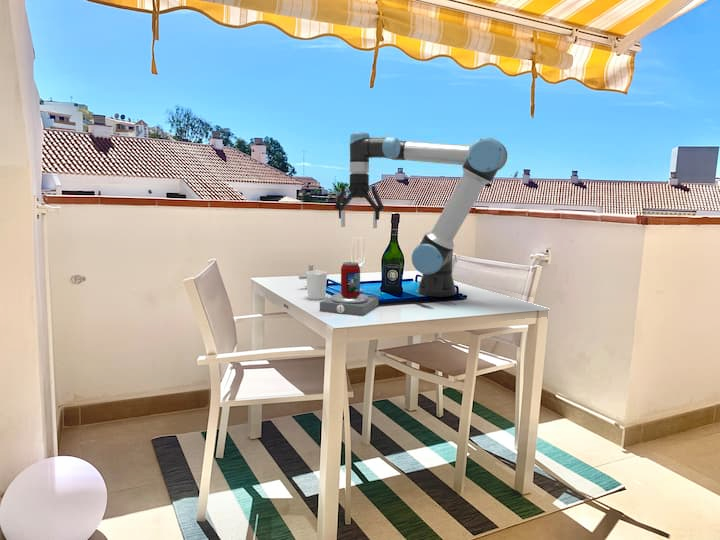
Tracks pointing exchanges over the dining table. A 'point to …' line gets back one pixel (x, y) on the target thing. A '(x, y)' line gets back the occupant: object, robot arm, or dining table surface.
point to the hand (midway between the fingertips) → (358, 227)
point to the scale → (349, 306)
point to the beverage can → (350, 280)
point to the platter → (349, 299)
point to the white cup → (316, 284)
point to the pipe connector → (305, 274)
